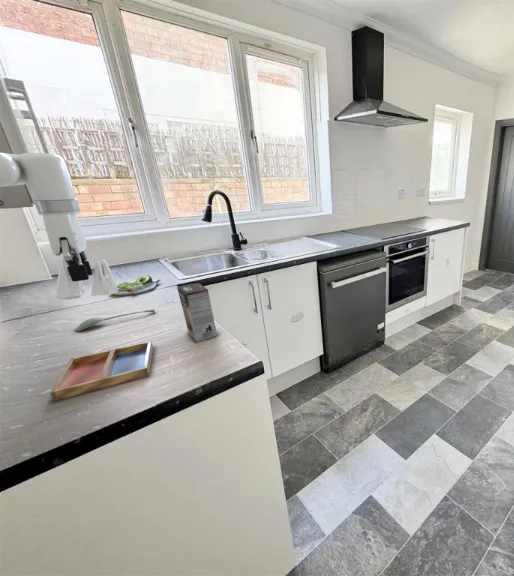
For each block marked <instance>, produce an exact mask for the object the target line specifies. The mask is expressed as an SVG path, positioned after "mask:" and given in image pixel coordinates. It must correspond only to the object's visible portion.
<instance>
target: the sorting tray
mask: <svg viewBox="0 0 514 576" xmlns="http://www.w3.org/2000/svg"><path fill="white" fill-rule="evenodd" d="M153 353H154V345H153V341H152V340H148V341H144V342H140V343H135V344H130V345H126V346H121V347H116V348H112V349H108V350H107V349H106V350H103V351H98V352H93V353H90V354H85V355H82V356H81V355H80V356H75V357H72V358H70V359H68V360H69V361H68V362H67V364H66V366H65V367H64V369H63V370H62V371H61V374H60V376H59V377H58V379H57V380H56V382H55V384H54V385H53V387H52V389H51V391H50V392H49V394H50V397H51V399H52V401H53V402H58V401H61V400H66V399H68V398H73V397H76V396H80V395H83V394H87V393H91V392H94V391H98V390H103V389H106V388H109V387H110V388H111V387H113V386H117V385H121V384H124V383H128V382H129V383H130V382H131V381H136V380H139V379H144V378H147V377H150V374H151V368H152V359H153Z"/></svg>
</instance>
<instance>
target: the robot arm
mask: <svg viewBox="0 0 514 576" xmlns="http://www.w3.org/2000/svg"><path fill="white" fill-rule="evenodd" d="M24 185H27V187H28V191H29V193H30V195H31V197H32V201H33V203H34V206H35V209H36V212H37V214H38V215H39V216H42V218H43V223H44V228H45V232H46V235H47V238H48V242H49V245H50V248H51V251H52V254H53V255H54V256H56V257H58V256H61V255H62V258H63V259H64V260H65V262H66V265H67V268H68V271H69V274H70V276H71V279H72V281H82V282H83V281H88V280H89V278H90V277H89V276H92V275H94V272H93V269H92V267H91V264H90V261H89V260H88V256H87V254H86V251H85V250H86V249H87V247H88V244H87V240H86V237H85V233H84V231H83V228H82V225H81V223H80V220H79V217H78V215H77V214H81V213H82V211H81V207H80V204H79V201H78V198H77V195H76V191H75V190H74V189H75V188H74V186H73V183H72V181H71V177H70V174H69V171H68V168H67V165H66V161H65V160H64V158H63V157H62V156H60V155H58V154H55V153H45V152H23V153H21V154H17V153H8V152H7V153H6V152H0V188H6V187H7V188H8V187H14V186H24Z"/></svg>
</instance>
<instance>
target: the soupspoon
mask: <svg viewBox="0 0 514 576" xmlns="http://www.w3.org/2000/svg"><path fill="white" fill-rule="evenodd" d="M140 313H153V314H155V308H153V309H147V310H142V311H134V312H130V313H123V314H119V315H115V316H111V317H107V318H105V317H91V318H88V319H86V320H84V321H83V322H81V323H79V325H78V326H77V327H76V330H75V331H76V332H81V331H83V330H85V329H87V328H90V327H92V326H94V325H97V324H99V323H102V322H104V321H108V320H112V319H116V318H119V317H120V318H121V317H124V316H130V315H135V314H140Z"/></svg>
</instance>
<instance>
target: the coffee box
mask: <svg viewBox="0 0 514 576" xmlns="http://www.w3.org/2000/svg"><path fill="white" fill-rule="evenodd" d="M176 289H177V293H178V296H179V301H180V305H181V308H182V312H183V317H184V320H185V325H186V328H187V331H188V334H189V335H190V337H192V338H193V340H194V341H195V342H196V343H198V342H202V341H204V340H208V339H210V338H213V337H217V336H218V331H217V328H216V323H215V317H214V312H213V307H212V302H211V298H210V293H209V289H208V288H206V287H205V286H204V285H202V284H201V283H200V282H196V283H191V284H190V283H189V284H184V285H179V286H177V287H176Z"/></svg>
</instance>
